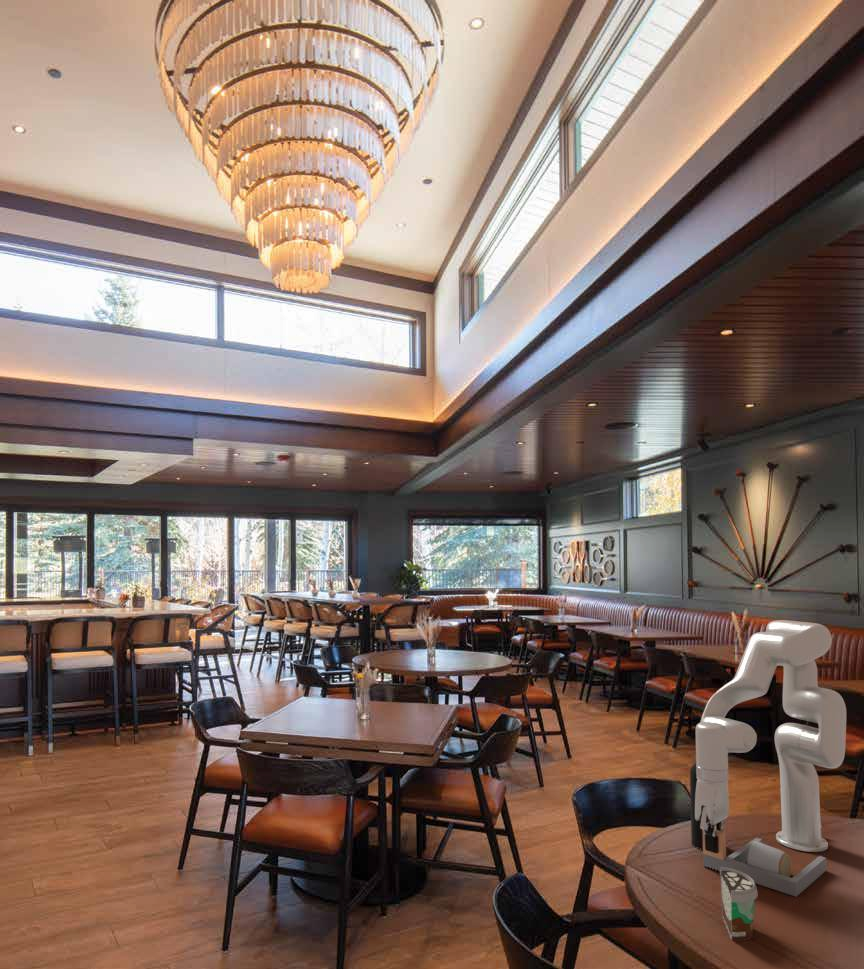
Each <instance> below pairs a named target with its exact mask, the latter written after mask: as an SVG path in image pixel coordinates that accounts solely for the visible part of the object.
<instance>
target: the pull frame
mask: <svg viewBox="0 0 864 969" xmlns="http://www.w3.org/2000/svg"><path fill="white" fill-rule="evenodd" d="M702 832H703V850H702V858H703V859H702V865H703V867H705V866H706V867H705V868H708V867H709V868H708V869H711V868H712V869H711V870H714V869H715V870H714V871H717V870H718V871H717V872H720V867H724V868H730V869H734V870H737V871H740V872H742V873H744V874H746V875H748V876H749V877H751V878H752V879H753V881H754V883H755V885H756V884H757V885H760V886H762V887H765V888H768V889H772V890H775V891H776V892H777V891H778V892H780V893H784V894H786V895H790V896H793V897H795V898H796V897H798V896H799V895H800V894H801V893H803V892H804V891H805V890H806V889H807V888H809V886H811V884H813V883H814V882H815V881H816V880H817V879H818V878H820V877H821V876H822V875H823V874H824V873H826V871H827V857H824V856H822V855H818V856H817V857H816V858H815V859H814V860H812V861H811V862H810V863H809V864H807V866H805V867H804V868H803V869H802V870H800V871H799V872H798V873H797V874H795V875H794V876H793V877H787V876H783V875H780V874H777V873H774V872H771V871H767V870H764V869H761V868H758V867H755V866H752V865H748V864H747V858H748V852H749V848H750V846H751V844H752V843H753V842H754V841H758V842H761V843H763V839H762V838H759V837H755V838H753V839H752V840H750V841H749V842H747V843H746V844H745V845H743V846H742V847H740V848H739V849H736V850H735V851H733V852H732V853H731V854H729V855H728V856H727V843H726V842H727V841H726V840H727V838H726V836H727V835H726V831H724V832H723V831H719V830H716V832H717V835H716V836H718V849H719V852H718V853H713V852H710V851H707V850H706V849H705V834H704V830H703V829H702Z"/></svg>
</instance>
